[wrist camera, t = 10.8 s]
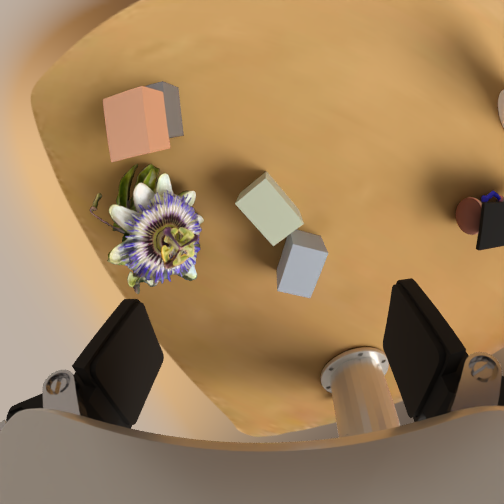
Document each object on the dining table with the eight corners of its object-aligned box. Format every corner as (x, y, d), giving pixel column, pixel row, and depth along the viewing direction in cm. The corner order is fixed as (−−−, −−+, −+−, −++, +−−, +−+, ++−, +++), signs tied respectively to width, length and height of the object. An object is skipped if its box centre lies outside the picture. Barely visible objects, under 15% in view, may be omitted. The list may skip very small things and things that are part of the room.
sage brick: (299, 209, 32) (303, 223, 28) (273, 229, 33) (273, 246, 29) (266, 171, 30) (265, 178, 26) (240, 192, 32) (234, 203, 27)
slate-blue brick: (305, 276, 36) (310, 298, 31) (276, 269, 36) (277, 290, 31) (320, 235, 33) (328, 253, 29) (289, 227, 33) (293, 244, 29)
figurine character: (505, 185, 28) (450, 187, 29) (537, 198, 22) (489, 203, 22) (501, 223, 31) (447, 234, 31) (531, 241, 24) (481, 257, 24)
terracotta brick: (170, 148, 25) (150, 152, 20) (135, 155, 25) (111, 162, 21) (163, 91, 22) (141, 85, 18) (128, 102, 23) (102, 99, 18)
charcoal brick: (183, 135, 29) (168, 136, 24) (152, 141, 29) (134, 144, 25) (178, 87, 26) (162, 81, 22) (147, 95, 27) (128, 91, 22)
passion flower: (206, 204, 39) (222, 289, 32) (130, 228, 38) (130, 311, 31) (179, 133, 28) (187, 223, 21) (87, 169, 28) (67, 263, 21)
